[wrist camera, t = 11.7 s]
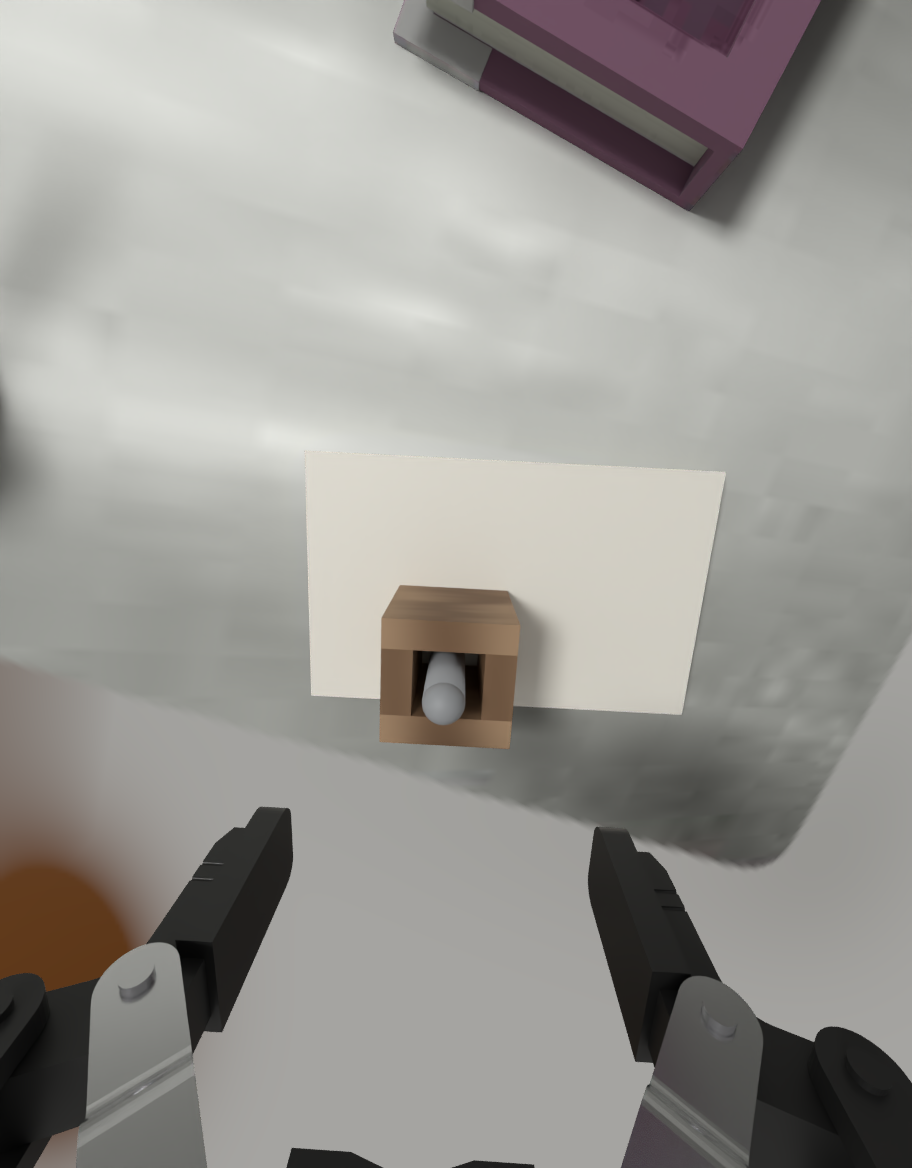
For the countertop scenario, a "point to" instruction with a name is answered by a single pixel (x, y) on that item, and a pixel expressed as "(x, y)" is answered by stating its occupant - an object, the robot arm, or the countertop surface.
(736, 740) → the countertop surface
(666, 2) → the book
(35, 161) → the countertop surface
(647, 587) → the board
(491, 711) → the brown wooden hollow cube
